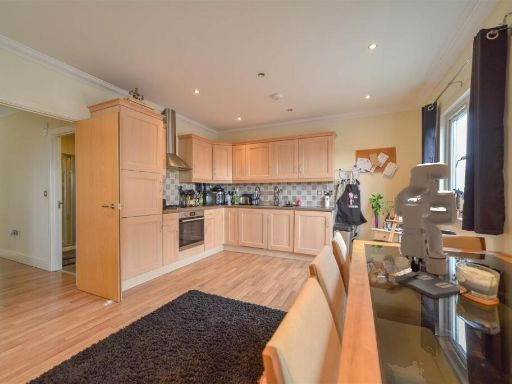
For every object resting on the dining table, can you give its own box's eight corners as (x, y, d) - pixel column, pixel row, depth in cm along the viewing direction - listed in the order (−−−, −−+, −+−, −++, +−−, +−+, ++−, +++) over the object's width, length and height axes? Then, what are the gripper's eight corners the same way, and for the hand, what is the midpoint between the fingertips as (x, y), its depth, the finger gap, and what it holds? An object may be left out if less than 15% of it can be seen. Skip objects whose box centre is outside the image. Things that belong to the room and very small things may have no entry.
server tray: (422, 274, 117) (422, 270, 117) (468, 292, 97) (468, 287, 97) (393, 279, 114) (393, 275, 114) (434, 298, 93) (433, 293, 93)
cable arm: (413, 270, 117) (413, 264, 117) (421, 272, 114) (421, 266, 114) (388, 281, 107) (387, 274, 107) (396, 283, 103) (395, 276, 103)
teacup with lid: (445, 270, 121) (444, 248, 121) (448, 276, 113) (447, 253, 113) (418, 267, 127) (417, 247, 127) (419, 273, 120) (418, 251, 120)
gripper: (436, 231, 97) (439, 273, 97) (399, 227, 110) (402, 264, 110) (428, 235, 93) (431, 279, 94) (391, 230, 106) (393, 269, 106)
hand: (415, 271), depth 102 cm, fingers closed
